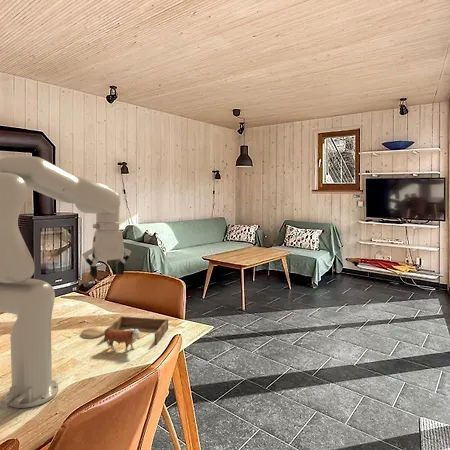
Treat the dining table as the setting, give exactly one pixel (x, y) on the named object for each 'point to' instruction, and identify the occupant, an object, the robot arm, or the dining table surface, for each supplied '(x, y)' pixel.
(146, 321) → the walnut tray
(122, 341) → the bull figurine
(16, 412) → the dining table surface
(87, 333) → the oak coaster
